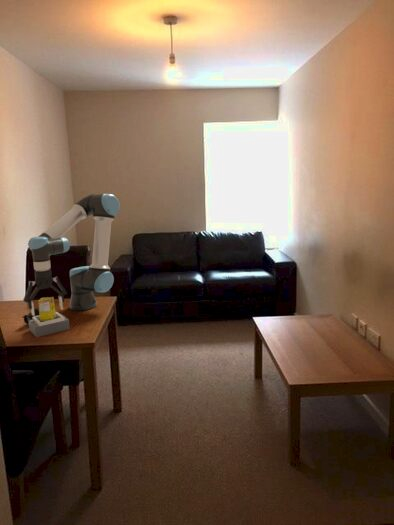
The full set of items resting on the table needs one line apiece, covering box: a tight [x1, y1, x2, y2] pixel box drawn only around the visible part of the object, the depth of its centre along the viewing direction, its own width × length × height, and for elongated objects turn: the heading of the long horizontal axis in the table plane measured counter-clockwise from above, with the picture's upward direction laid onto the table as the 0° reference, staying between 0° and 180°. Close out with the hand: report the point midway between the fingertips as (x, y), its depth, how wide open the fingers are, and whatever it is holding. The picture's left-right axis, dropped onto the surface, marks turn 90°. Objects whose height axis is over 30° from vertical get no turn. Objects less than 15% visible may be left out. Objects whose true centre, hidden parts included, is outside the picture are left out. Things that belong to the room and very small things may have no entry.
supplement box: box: [37, 296, 56, 322], centre depth 207 cm, size 6×6×11 cm
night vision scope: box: [21, 306, 40, 325], centre depth 221 cm, size 8×18×10 cm
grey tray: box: [28, 311, 71, 338], centre depth 208 cm, size 16×12×6 cm
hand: (47, 312), depth 207 cm, fingers open, 13 cm apart
